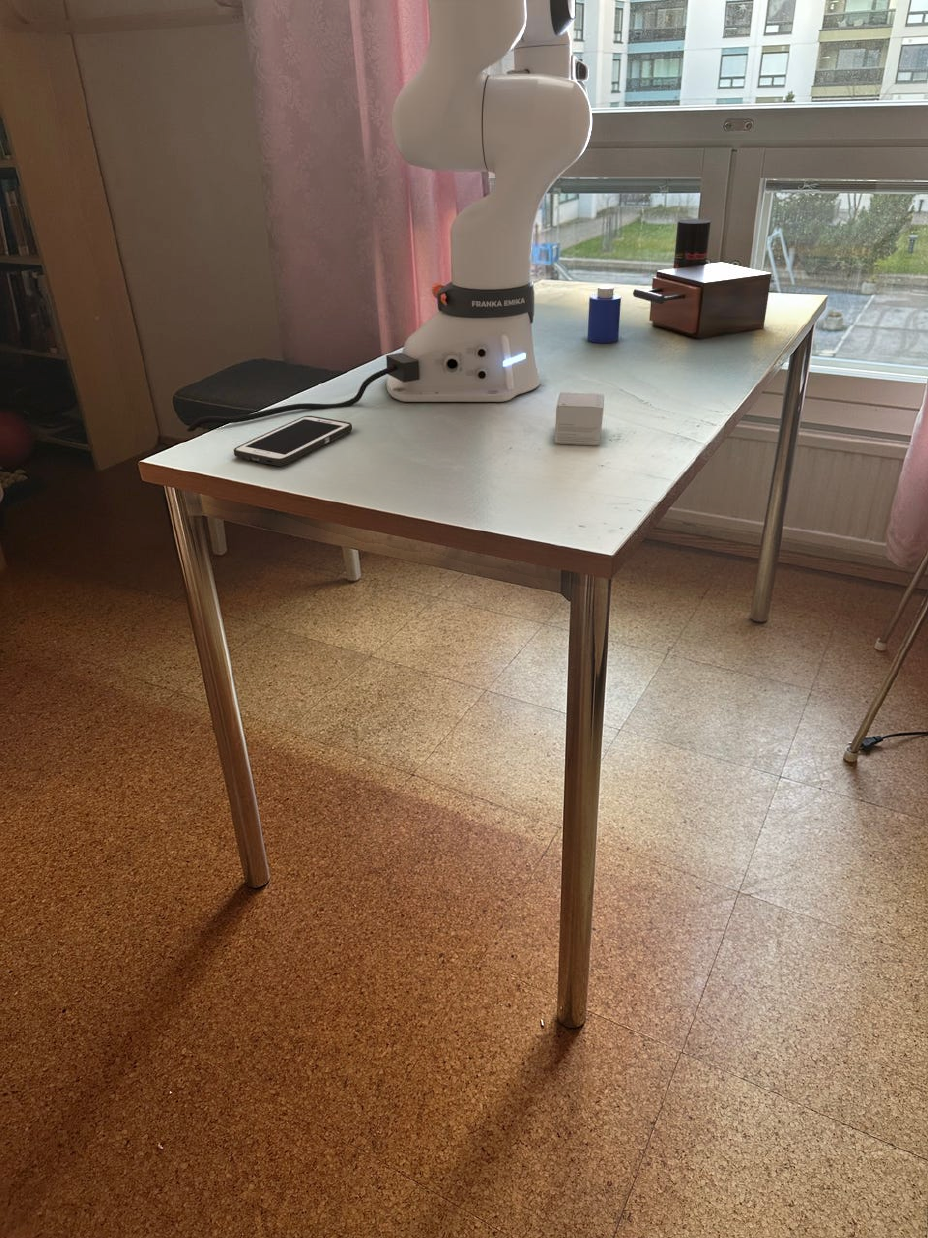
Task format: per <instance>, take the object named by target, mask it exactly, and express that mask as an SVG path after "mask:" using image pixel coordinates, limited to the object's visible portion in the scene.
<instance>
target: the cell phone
mask: <svg viewBox="0 0 928 1238" xmlns="http://www.w3.org/2000/svg"><path fill="white" fill-rule="evenodd" d="M352 430H353V425H352V423H351V422H349V421H343V420H338V419H332V418H327V417H322V416H316V415H303V416H301V417H299V418H296V419H294V420H293V421H290V422H288V423H286V424H284V425H281V426H279V427H276V428H274V429H273V430H270V431H268V432H266V433H264V434H262V435H259V436H257V437H255V438H253V439H251V440H248V441H246V442H244V443H241V444H240V445H238V446H236V447H234V448H233V456H235V457H236V458H239V459H243V460H249V461H254V462H258V463H261V464H266V465H271V466H278V467H282V466H285V465H287V464H290V463H291V462H293V461H295V460H297V459H299V458H301V457H303V456H305V455H308V454H309V453H311V452H313V451H315V450H317V449H319V448H320V447H323V446H325V445H327V444H329V443H330V442H332V441H334V440H336V439H339V438H340V437H342V436H344V435H346V434H349V433H350V432H351V431H352Z"/></svg>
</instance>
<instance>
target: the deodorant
mask: <svg viewBox="0 0 928 1238" xmlns="http://www.w3.org/2000/svg"><path fill="white" fill-rule="evenodd" d="M711 223H712V222H711V220H709V219H702V218H686V219H685V218H684V219H679V220H677V224H676V225H677V226H676V235H675V247H674V258H673V268H672V269H675V268H683V267H691V266H698V265H706V264H707V259H708V258H707V257H708V250H709V249H708V248H709V241H710V240H709V239H710V230H711Z"/></svg>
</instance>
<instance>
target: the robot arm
mask: <svg viewBox="0 0 928 1238" xmlns="http://www.w3.org/2000/svg"><path fill="white" fill-rule="evenodd" d="M426 2H427V9H428V21H429V22H428V23H429V43H428V48H427V53H426V55H425V59H424V61H423V63H422V65H421V67H420V68H419V70H418V72H417V73H416V74H415V75H414V76H413V78H411V79H410V80H409V81H408V82H407V83H405V85H404V86H403V87H402V88H401V90H400V91H399V93H398V95H396V98H395V101H394V104H393V106H392V111H391V119H390V123H391V124H390V126H391V135H392V138H393V142H394V144H395V146H396V149H397V152H398V153H399V155H400V156H401V157H402V159H403V160H404V162H406V163H407V164H408V165H410V166H412V167H413V166H414V167H417V168H421V169H426V170H430V171H435V172H440V173H492V174H494V183H493V187H492V191H491V192H490V193H489V194H488V195H486V196H484V197H482V198H480V199H478V200H476V201H474V202H473V203H472V204H470V205H468V206H467V207H465V208H463V209H462V210H461V211H460V212H459V213H457V215H456V216H455V217H454V219H453V221H452V223H451V227H450V231H449V235H450V236H449V237H450V238H449V239H450V273H451V275H450V276H451V281H450V282H448V283H447V284H445V285H444V283H442V282H440V281H437V282H434V283H433V285H432V286H431V294H432V295H433V297H434V298H435V299H436V302H437V309H438V311H437V312H436V313H435V314H434V315H433V316H431V317H430V318H429V319H428V320H427V321H425V323H423V324H422V325H421V326H420V327H419V328H417V329H416V330H415V331H413V333H412V334H410V335H409V336H408V337H407V338H406V340H405V342H404V345H403V348H402V350H401V351H402V352H398V353H391V354H386V355H385V359H386V368H383V369H381V370H378V371H377V372H375V373H373V374H372V375H370V376H368V377H367V378H366V379H365V380H364V381H363V382H362V383H361V385H360V386H359V389H358V391H357V393H356V394H355V395H354V397H352V398H350V399H348V400H345V401H343V402H339V403H313V402H311V403H309V402H308V403H293V404H287V405H282V406H277V407H273V408H269V409H265V410H261V411H257V412H252V413H247V414H244V415H237V416H218V415H217V416H216V415H207V416H203V417H200V418H198V419H195V421H193V422H192V423H191V424H190V425H189V426H188V428H187V430H186V432H189V433H190V432H194V431H195V430H196V429H197V428H199V427H200V426H202V425H203V424H207V423H208V424H209V423H218V424H219V423H221V424H236V423H242V422H247V421H253V420H257V419H260V418H265V417H270V416H272V415H277V414H282V413H286V412H292V411H298V410H329V409H338V408H346V407H352V406H353V405H355V404H357V403H358V402H360V400H361V399H362V397H363V396H364V394H365V391H366V389H367V388H368V386H369V385H371V384H372V383H373V382H375V381H376V380H378V379H379V378H382V377H384V376H386V375H387V378H386V390H387V392H388V394H389V396H391V397H392V398H393V399H396V400H397V401H400V402H403V403H404V402H405V403H406V402H408V403H411V402H412V403H416V402H417V403H420V402H421V403H429V402H430V403H435V402H436V403H440V402H441V403H454V402H455V403H457V402H459V403H460V402H461V403H463V402H464V403H465V402H466V403H469V402H470V403H471V402H472V403H473V402H474V403H478V402H479V403H483V402H484V403H487V402H489V403H491V402H494V403H495V402H497V403H499V402H500V403H502V402H508V401H510V400H513V398H515V397H516V396H518V395H521V394H524V393H527V392H530V391H533V390H535V389H536V388H537V387H539V386H540V385H541V378H540V374H539V371H538V367H537V362H536V355H535V349H534V341H533V340H534V339H533V329H532V328H533V327H532V324H533V323H534V316H535V289H534V288H535V287H534V285H535V283H534V282H533V281H532V256H533V255H532V253H533V240H534V232H535V225H536V220H537V217H538V213H539V210H540V207H541V205H542V203H543V201H544V199H545V197H546V195H547V194H548V192H549V190H550V189H551V187H552V186H553V185H554V183H555V182H556V181H557V180H558V179H559V177H561V176H562V175H563V173H564V172H566V171H567V170H568V169H569V168H570V167H572V166H573V165H574V164H575V163H576V162H577V161H578V160H579V159H580V157H581V156H582V154H583V153H584V151H585V150H586V147H587V146H588V143H589V140H590V137H591V134H592V133H591V132H592V128H593V115H592V108H591V104H590V101H589V98H588V90H587V86H586V83H584V82H587V81H588V80H589V74H590V73H589V72H590V71H589V66H588V64H586V63H584V62H583V61H581V60H580V59H579V58H577V56H575V54H572V40H571V36H570V30H569V28H570V27H571V26H572V25H573V24H574V22H575V21H576V20H577V0H426ZM512 50H513V57H514V58H513V63H514V64H513V65H514V66H513V67H514V68H513V69H510V70H507V72H506V74H503V73H502V74H491V73H485V70H487V68H489V67H491V66H493V65H495V64H496V63H498V62H499V61H501V60H502V59H504V58H505V57H506V56H507V55H509V53H510V52H511V51H512Z"/></svg>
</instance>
